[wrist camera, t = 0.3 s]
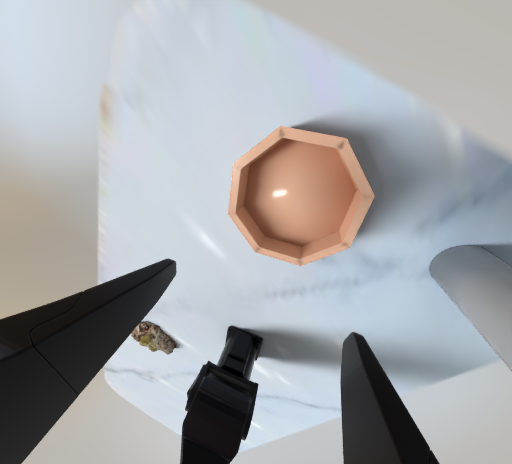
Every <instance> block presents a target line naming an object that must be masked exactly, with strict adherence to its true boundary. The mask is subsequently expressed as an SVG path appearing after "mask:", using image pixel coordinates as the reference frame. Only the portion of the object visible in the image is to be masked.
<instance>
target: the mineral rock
mask: <svg viewBox="0 0 512 464" xmlns="http://www.w3.org/2000/svg"><path fill="white" fill-rule="evenodd" d="M132 337H133V338H134V339H135V340H136V341H139V342H140V343H139V344H140V345H142V346H146V347H148V348H149V349H150V350H151V351H153V352H154V351H156V350H161V351H164V352H165V353H166V354H170V353H172V352H173V349H174V348H176V345H175V344H174V341H173V340H172V339H171V338H170V337H169V336H168V335H166V334H164V333H163V332H162V331H161V330H160V328H159V327H158V326H156V325H155V324H152V323H149V322H147V321H146V322H140V323H139V324H138V326H137V327H136V328H135V329H134V330H133V332H132Z"/></svg>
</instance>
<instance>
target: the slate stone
mask: <svg viewBox="0 0 512 464" xmlns="http://www.w3.org/2000/svg"><path fill="white" fill-rule="evenodd" d="M429 271H430V274H431V276H432V277H433V278H434V280H435V281H436V282H437V283H438V284H439V286H440V287H441V288H442V289H443V290H444V292H445V293H446V294H447V295H448V296H449V297H450V299H451V300H452V301H453V302H454V303H455V305H456V306H457V307H458V308H459V309H460V310H461V312H462V313H463V314H464V315H465V316H466V318H467V319H468V320H469V321H470V322H471V324H472V325H473V326H474V327H475V328H476V329H477V331H478V332H479V333H480V334H481V335H482V337H483V338H484V339H485V340H486V341H487V342H488V344H489V345H490V346H491V347H492V348H493V350H494V351H495V352H496V353H497V354H498V356H499V357H500V358H501V359H502V360H503V361H504V363H505V364H506V365H507V366H508V367H509V369H510V370H511V371H512V267H511V266H510V265H508V264H507V263H505V262H504V261H502V260H501V259H499V258H498V257H496V256H495V255H493V254H492V253H490V252H488V251H487V250H485V249H483V248H481V247H478V246H472V245H462V246H456V247H452V248H449V249H446V250H444V251H442V252H441V253H439V254H438V255H437V256H436V257H435V258H434V259H433V260H432V262H431V264H430V267H429Z"/></svg>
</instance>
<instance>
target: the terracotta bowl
mask: <svg viewBox="0 0 512 464" xmlns="http://www.w3.org/2000/svg"><path fill="white" fill-rule="evenodd" d="M374 197H375V195H374V193H373V191H372V189H371V187H370V185H369V183H368V181H367V179H366V177H365V175H364V173H363V170H362V168H361V166H360V164H359V162H358V160H357V158H356V156H355V154H354V152H353V150H352V148H351V146H350V144H349V142H348V140H347V138H343V137H338V136H332V135H327V134H321V133H316V132H311V131H305V130H300V129H294V128H289V127H284V126H280V127H278V128H277V129H276V130H275V131H273V132H272V133H271V134H270V135H268V136H267V137H266V138H265V139H263V140H262V141H261V142H260V143H258V144H257V145H256V146H255V147H253V148H252V149H251V150H250V151H248V152H247V153H246V154H245V155H243V156H242V157H241V158H240V159H238V160H237V161H236V162H235V163H233V171H232V181H231V191H230V200H229V210H228V215H229V216H230V217H231V219H232V220H233V222H234V223H235V224H236V226H237V227H238V229H239V230H240V232H241V233H242V234H243V236H244V237H245V239H246V240H247V241H248V243H249V244H250V246H251V247H252V248H253V250H254V251H255V252H256V253H260V254H263V255H266V256H270V257H273V258H276V259H279V260H283V261H286V262H289V263H292V264H296V265H299V266H302V265H305V264H308V263H310V262H313V261H316V260H318V259H321V258H324V257H326V256H329V255H332V254H334V253H337V252H340V251H342V250H345V249H348V248H350V246H351V244H352V242H353V240H354V238H355V236H356V234H357V232H358V229H359V227H360V225H361V223H362V221H363V219H364V217H365V215H366V213H367V211H368V209H369V207H370V205H371V203H372V201H373V199H374Z"/></svg>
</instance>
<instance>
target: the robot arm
mask: <svg viewBox="0 0 512 464" xmlns="http://www.w3.org/2000/svg"><path fill="white" fill-rule="evenodd" d="M175 275H176V262H175V261H174V260H171V259H165V260H162V261H160V262H157V263H155V264H152V265H149V266H147V267H144V268H142V269H139V270H136V271H134V272H131V273H129V274H126V275H123V276H121V277H118V278H116V279H113V280H110V281H108V282H105V283H103V284H100V285H98V286H95V287H92V288H90V289H87V290H85V291H84V292H79V293H77V294H74V295H72V296H69V297H66V298H64V299H61V300H58V301H55V302H52V303H49V304H47V305H43V306H41V307H37V308H34V309H31V310H28V311H25V312H22V313H19V314H16V315H13V316H9V317H6V318H3V319H0V464H21V463H22V462H23V461H24V460H25V459H26V457H27V456H28V455H29V454H30V453H31V452H32V450H33V449H34V448H35V447H36V446H37V444H38V443H39V442H40V441H41V440H42V438H43V437H44V436H45V435H46V434H47V433H48V431H49V430H50V429H51V428H52V427H53V425H54V424H55V423H56V422H57V421H58V420H59V418H60V417H61V416H62V415H63V413H64V412H65V411H66V410H67V409H68V408H69V406H70V405H71V404H72V403H73V402H74V401H75V399H76V398H77V397H78V395H79V394H80V393H81V392H82V391H83V390H84V388H85V387H86V386H87V385H88V384H89V383H90V381H91V380H92V379H93V378H94V377H95V375H96V374H97V373H98V372H99V370H100V369H101V368H102V367H103V366H104V365H105V364H106V362H107V361H108V360H109V359H110V358H111V356H112V355H113V354H114V353H115V352H116V351H117V349H118V348H119V347H120V346H121V345H122V343H123V342H124V341H125V340H126V339H127V337H128V336H129V335H130V334H131V333H132V332H133V330H134V329H135V328H136V327H137V326H138V324H139V323H140V322H141V321H142V320H143V318H144V317H145V316H146V315H147V314H148V313H149V311H150V310H151V309H152V308H153V307H154V305H155V304H156V303H157V302H158V300H159V299H160V297H161V296H162V295H163V293H164V292H165V290H166V289H167V287H168V286H169V284H170V283H171V281H172V280H173V278H174V277H175ZM262 342H263V340H262V338H259V337H257V336H254V335H252V334H249V333H246V332H244V331H241V330H239V329H236V328H233V327H229V328H228V331H227V337H226V344H225V348H224V350H223V352H222V354H221V357H220V359H219V361H218V364H217V365H215V364H213V363H211V362H210V361H208V362H207V364H206V365H203V367H202V369H201V371H200V373H199V375H198V376H197V378H196V379H195V381H194V382H193V384H192V385H191V387H190V389H189V390H188V392H187V397H188V400H187V405H186V408H185V410H186V411H187V412H188V413H187V415H186V417H185V420H184V422H183V426H182V443H181V459H180V464H230V462H231V461H232V460H233V458H234V457H235V456H236V454H237V453H238V450H239V446H240V443H241V439H242V440H244V441H245V439H246V437H247V434H248V431H249V428H250V424H251V420H252V416H253V411H254V406H255V400H256V395H257V389H258V383H254V382H252V381H249V379H250V376H251V372H252V368H253V365H254V361H255V360H257V358H258V355H259V351H260V348H261V345H262ZM341 408H342V432H343V456H344V464H439V462H438V461H437V459H436V457H435V455H434V454H433V452H432V451H431V450H430V447H429V446H428V444H427V442H426V440H425V439H424V437H423V435H422V434H421V432H420V431H419V429H418V427H417V426H416V424H415V422H414V420H413V419H412V417H411V415H410V414H409V412H408V410H407V409H406V407H405V405H404V404H403V402H402V400H401V399H400V397H399V395H398V394H397V392H396V390H395V389H394V387H393V385H392V383H391V382H390V380H389V378H388V377H387V375H386V373H385V372H384V370H383V368H382V367H381V365H380V363H379V362H378V360H377V358H376V357H375V355H374V353H373V352H372V350H371V348H370V347H369V345H368V343H367V342H366V340H365V338H364V337H363V336H362V335H360V334H358V333H355V332H352V333H351V334H350V335H349V336H348V337H347V338H346V339H345V340H344V342H343V349H342V365H341Z"/></svg>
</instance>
